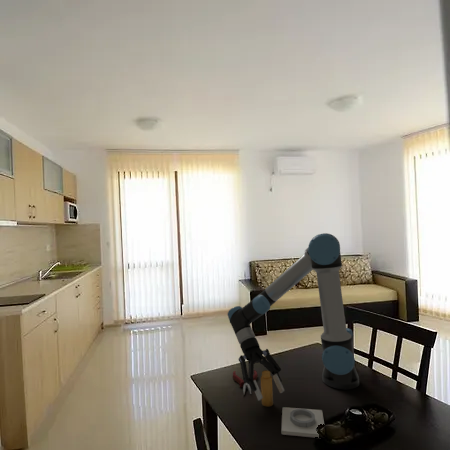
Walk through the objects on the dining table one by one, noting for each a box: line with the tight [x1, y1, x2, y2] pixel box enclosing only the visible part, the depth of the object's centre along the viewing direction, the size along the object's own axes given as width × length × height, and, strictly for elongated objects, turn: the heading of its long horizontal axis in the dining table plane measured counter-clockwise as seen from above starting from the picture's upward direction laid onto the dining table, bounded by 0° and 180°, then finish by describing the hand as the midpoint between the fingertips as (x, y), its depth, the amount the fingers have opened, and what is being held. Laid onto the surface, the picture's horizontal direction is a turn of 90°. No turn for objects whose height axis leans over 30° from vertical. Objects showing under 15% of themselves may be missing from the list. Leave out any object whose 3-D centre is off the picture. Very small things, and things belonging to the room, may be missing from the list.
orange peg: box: [260, 369, 274, 407], centre depth 123 cm, size 4×4×12 cm
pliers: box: [232, 370, 259, 396], centre depth 138 cm, size 12×20×3 cm, turn 0°
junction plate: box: [281, 406, 325, 439], centre depth 109 cm, size 14×14×3 cm
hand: (271, 395), depth 120 cm, fingers open, 9 cm apart
